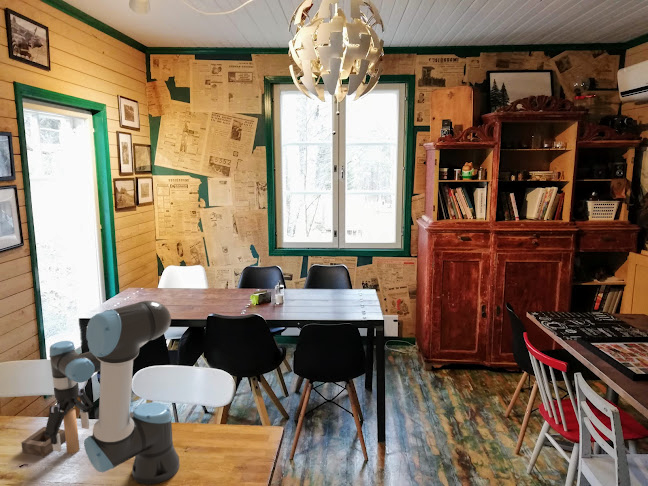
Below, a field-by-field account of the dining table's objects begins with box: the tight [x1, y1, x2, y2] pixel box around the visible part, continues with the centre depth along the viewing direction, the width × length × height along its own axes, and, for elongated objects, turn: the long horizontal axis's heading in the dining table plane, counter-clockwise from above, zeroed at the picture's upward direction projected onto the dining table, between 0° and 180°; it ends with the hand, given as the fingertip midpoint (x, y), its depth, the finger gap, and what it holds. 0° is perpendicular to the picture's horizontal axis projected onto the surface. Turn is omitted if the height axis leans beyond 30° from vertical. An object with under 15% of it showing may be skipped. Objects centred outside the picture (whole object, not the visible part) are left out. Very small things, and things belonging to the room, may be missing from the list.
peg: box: [62, 407, 80, 455], centre depth 164 cm, size 4×4×16 cm
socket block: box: [20, 426, 66, 458], centre depth 168 cm, size 10×10×4 cm
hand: (72, 438), depth 165 cm, fingers open, 13 cm apart
